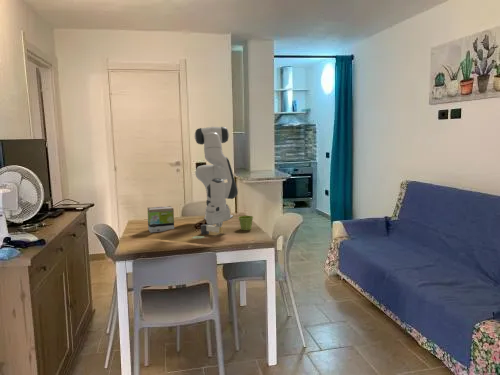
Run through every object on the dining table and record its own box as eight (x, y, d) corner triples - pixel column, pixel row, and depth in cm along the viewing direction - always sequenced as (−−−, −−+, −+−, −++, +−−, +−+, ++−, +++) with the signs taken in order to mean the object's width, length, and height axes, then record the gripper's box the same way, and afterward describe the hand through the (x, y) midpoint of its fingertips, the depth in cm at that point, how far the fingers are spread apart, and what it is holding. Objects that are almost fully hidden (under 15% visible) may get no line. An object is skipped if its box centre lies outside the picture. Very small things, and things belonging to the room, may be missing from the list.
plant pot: (236, 229, 250) (236, 216, 249) (251, 228, 253) (250, 215, 252) (240, 233, 242) (240, 219, 241) (255, 231, 244) (255, 217, 243)
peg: (199, 233, 237) (198, 225, 236) (204, 232, 241) (203, 224, 240) (220, 236, 229) (219, 228, 228) (224, 234, 233) (224, 226, 233)
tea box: (150, 233, 247) (149, 209, 245) (148, 230, 256) (146, 207, 254) (174, 230, 252) (173, 207, 251) (171, 227, 262) (170, 205, 260)
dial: (199, 229, 254) (199, 227, 254) (233, 232, 243) (233, 230, 243) (175, 238, 232) (175, 236, 232) (211, 242, 221) (211, 240, 221)
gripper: (223, 203, 244) (224, 225, 246) (204, 208, 226) (204, 232, 228) (232, 204, 241) (233, 226, 242) (213, 209, 223) (214, 233, 225)
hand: (219, 229), depth 235 cm, fingers closed
